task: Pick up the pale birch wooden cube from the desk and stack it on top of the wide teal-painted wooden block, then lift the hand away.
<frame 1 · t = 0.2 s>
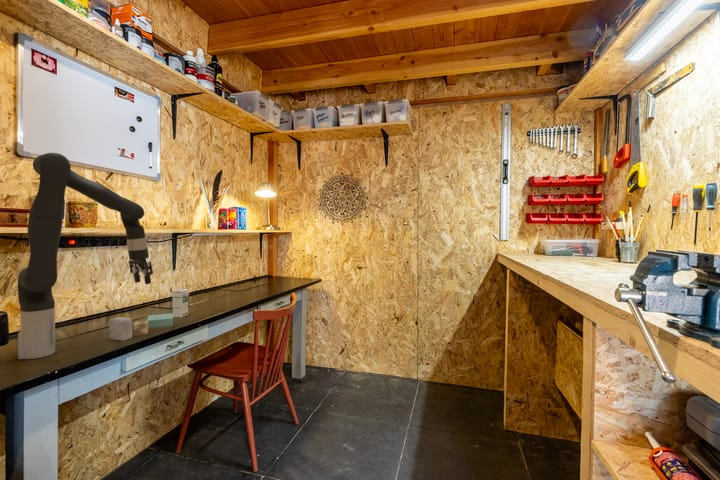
hand: (143, 283, 154), 22 cm above the table, tool pointing down, fingers open, 8 cm apart
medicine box: (120, 339, 144), on the table
teal block: (160, 324, 166), on the table
birch cube: (141, 333, 151), on the table
syrup box: (180, 316, 182), on the table
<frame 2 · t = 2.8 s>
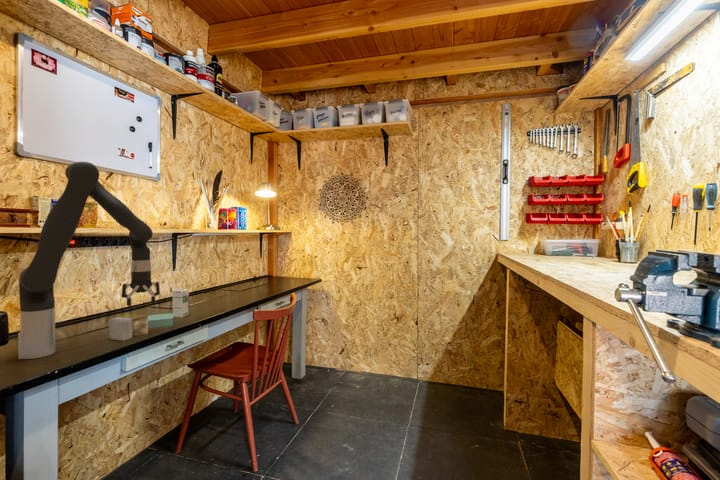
hand: (141, 305, 151), 13 cm above the table, tool pointing down, fingers open, 8 cm apart
nothing on the table moved.
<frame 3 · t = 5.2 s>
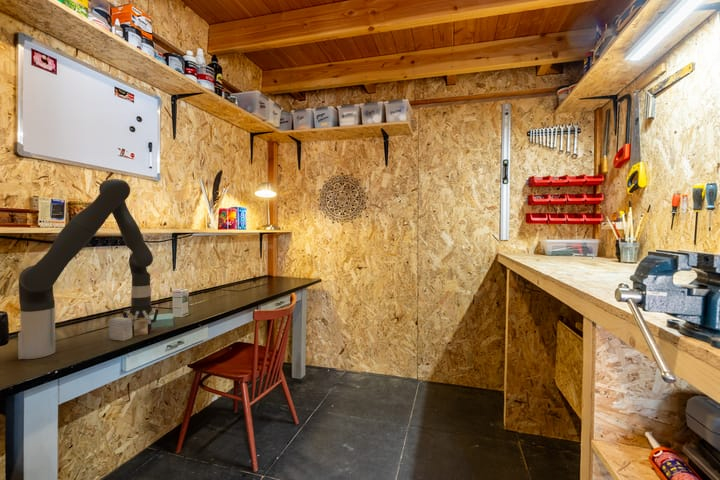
hand: (141, 332, 151), 0 cm above the table, tool pointing down, fingers closed on birch cube, 5 cm apart
birch cube: (141, 333, 151), on the table, touching gripper
everything else where it was.
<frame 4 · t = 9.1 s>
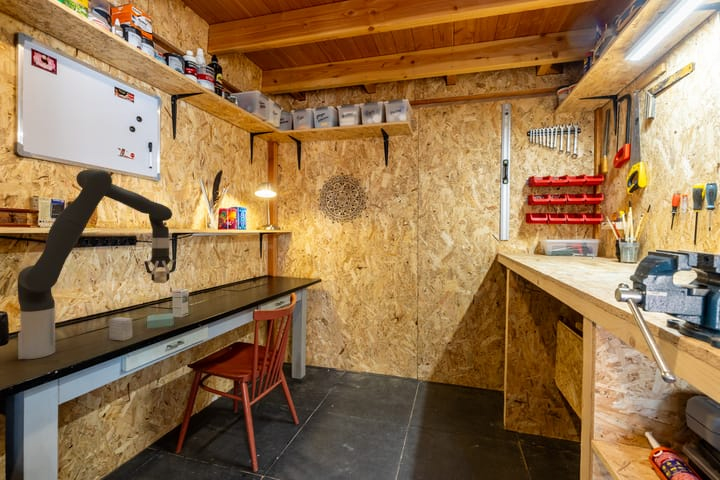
hand: (160, 281, 165), 21 cm above the table, tool pointing down, fingers closed on birch cube, 5 cm apart
birch cube: (160, 282, 165), point 21 cm above the table, touching gripper
everything else where it was.
when the fingers open (6 cm above the table, at t = 12.9 s): birch cube drops 2 cm, point 3 cm above the table.
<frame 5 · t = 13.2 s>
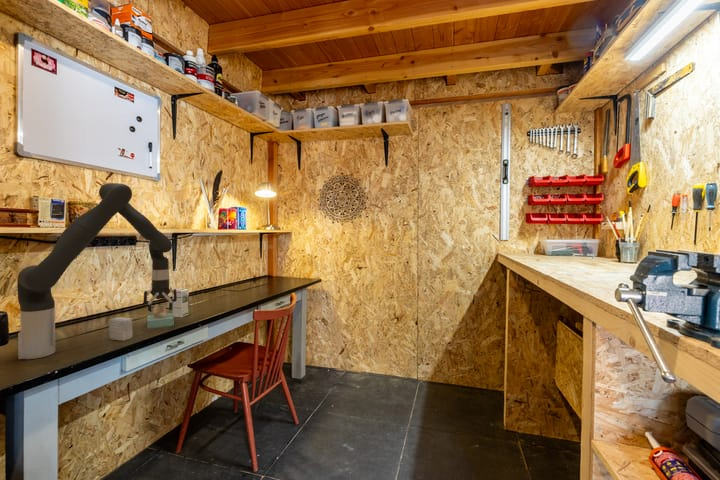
hand: (160, 310, 166), 7 cm above the table, tool pointing down, fingers open, 8 cm apart
birch cube: (159, 317, 166), point 3 cm above the table
everything else where it was.
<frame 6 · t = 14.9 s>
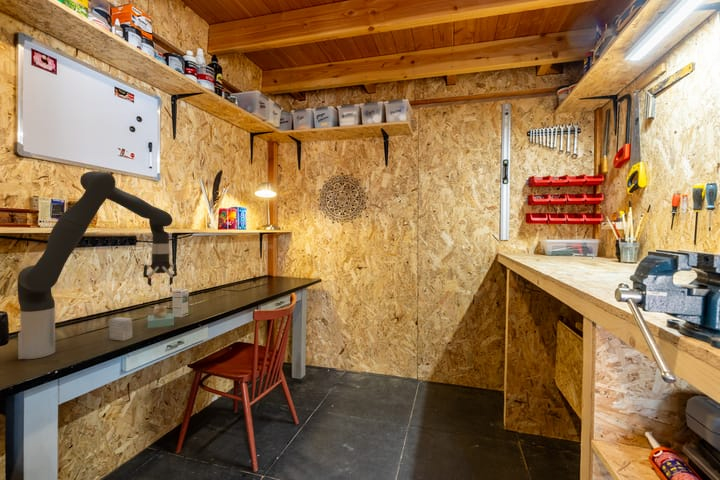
hand: (160, 285, 166), 19 cm above the table, tool pointing down, fingers open, 8 cm apart
teal block: (160, 324, 166), on the table, touching birch cube
birch cube: (160, 317, 166), point 3 cm above the table, touching teal block
everything else where it was.
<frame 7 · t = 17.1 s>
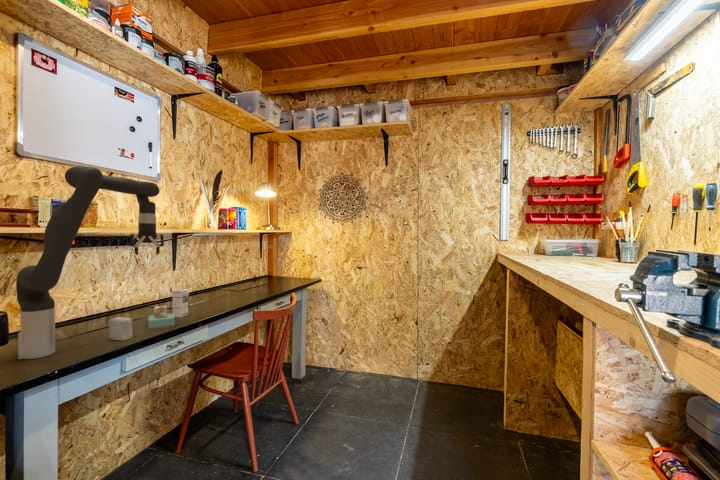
hand: (147, 254, 168), 34 cm above the table, tool pointing down, fingers open, 8 cm apart
nothing on the table moved.
at the end: birch cube 0.4 cm off-centre on the teal block, point 4.0 cm above the teal block's base; birch cube tilted 0°; the gripper is holding nothing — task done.
